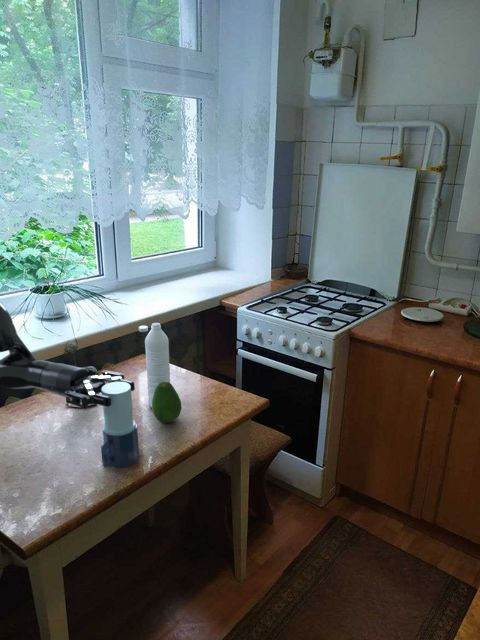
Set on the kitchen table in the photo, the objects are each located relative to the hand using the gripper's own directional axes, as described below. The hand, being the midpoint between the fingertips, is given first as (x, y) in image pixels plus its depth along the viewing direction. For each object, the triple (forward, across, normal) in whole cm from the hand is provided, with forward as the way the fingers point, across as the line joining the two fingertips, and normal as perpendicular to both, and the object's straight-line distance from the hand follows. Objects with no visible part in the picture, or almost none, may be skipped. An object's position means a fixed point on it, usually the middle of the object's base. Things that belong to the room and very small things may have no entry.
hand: (122, 394), depth 112 cm
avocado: (-1, +20, +18) cm, 26 cm away
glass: (-2, 0, +9) cm, 9 cm away
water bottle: (-9, +26, +18) cm, 33 cm away
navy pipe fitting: (-1, -1, +18) cm, 18 cm away
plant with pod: (-28, +19, +18) cm, 38 cm away
